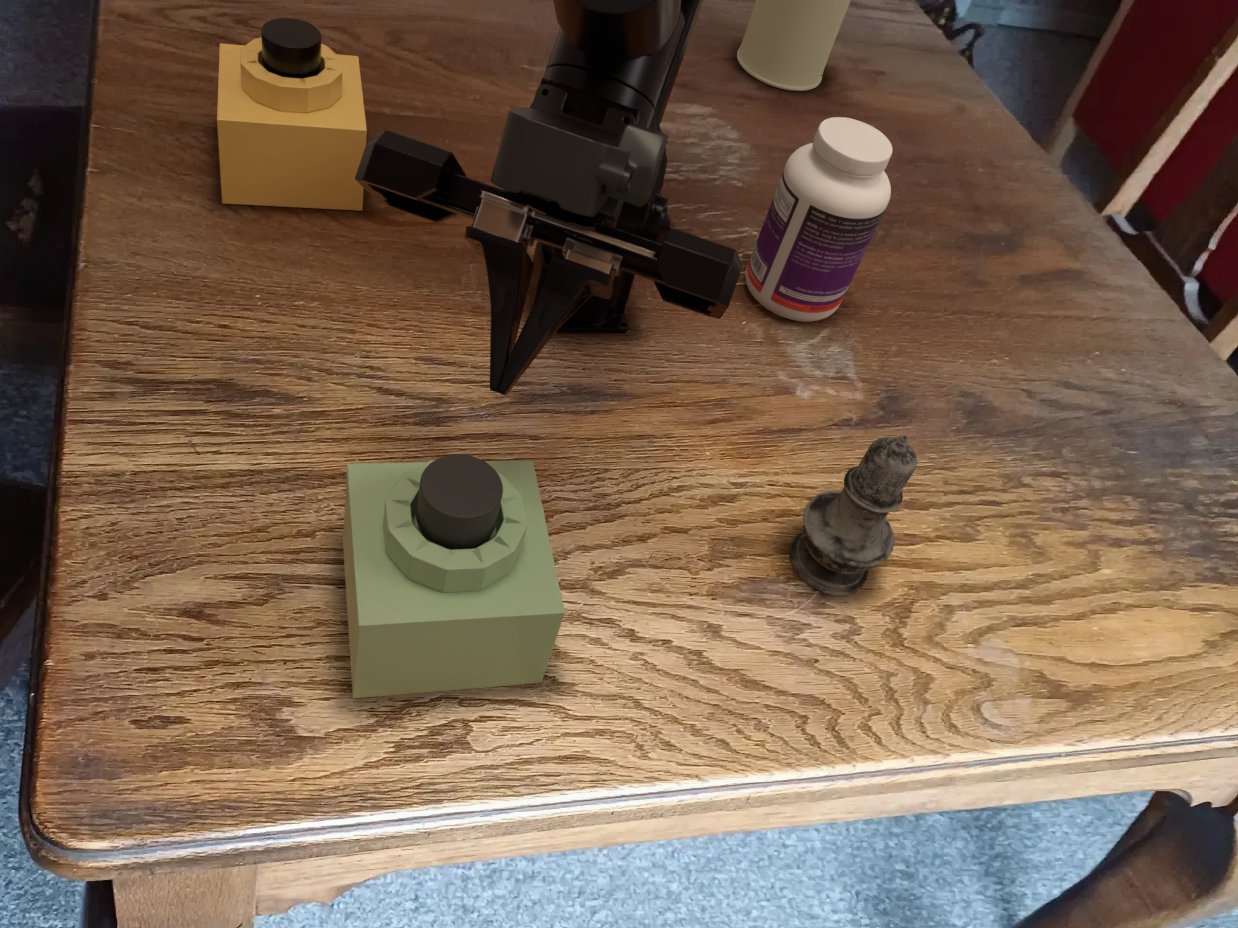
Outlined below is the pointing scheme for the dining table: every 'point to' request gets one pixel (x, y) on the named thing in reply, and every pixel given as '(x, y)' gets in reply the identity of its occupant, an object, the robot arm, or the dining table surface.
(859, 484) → the chess piece
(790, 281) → the pill bottle
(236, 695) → the dining table surface
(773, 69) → the can
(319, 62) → the back button
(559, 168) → the robot arm
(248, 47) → the yellow push button box
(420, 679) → the green push button box
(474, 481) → the front button
